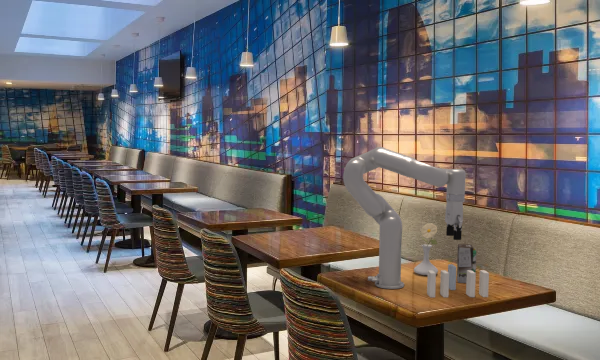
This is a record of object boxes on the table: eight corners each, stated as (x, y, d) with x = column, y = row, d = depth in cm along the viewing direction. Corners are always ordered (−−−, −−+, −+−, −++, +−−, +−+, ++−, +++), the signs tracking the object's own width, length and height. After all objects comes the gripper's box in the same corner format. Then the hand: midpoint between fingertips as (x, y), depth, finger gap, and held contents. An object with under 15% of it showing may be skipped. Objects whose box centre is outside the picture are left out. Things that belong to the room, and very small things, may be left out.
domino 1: (430, 297, 241) (431, 273, 240) (427, 294, 246) (427, 270, 245) (435, 297, 241) (435, 273, 241) (431, 294, 246) (432, 270, 246)
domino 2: (443, 297, 242) (444, 273, 241) (440, 293, 247) (440, 270, 246) (448, 297, 242) (449, 273, 241) (444, 293, 247) (445, 270, 246)
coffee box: (472, 283, 264) (473, 248, 262) (457, 282, 265) (458, 247, 264) (470, 278, 273) (472, 244, 271) (456, 277, 274) (457, 243, 273)
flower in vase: (408, 272, 284) (410, 220, 282) (428, 270, 288) (429, 219, 286) (425, 278, 272) (427, 224, 270) (445, 276, 277) (447, 223, 275)
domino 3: (451, 290, 253) (451, 267, 252) (447, 286, 258) (448, 264, 257) (455, 290, 253) (456, 266, 252) (451, 286, 258) (452, 264, 257)
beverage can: (472, 276, 278) (472, 251, 277) (455, 273, 282) (456, 248, 281) (478, 273, 284) (479, 248, 283) (462, 270, 289) (462, 246, 288)
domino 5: (483, 297, 242) (484, 273, 242) (478, 293, 247) (479, 270, 247) (488, 297, 243) (488, 273, 242) (483, 293, 248) (484, 270, 247)
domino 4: (470, 297, 242) (470, 273, 241) (466, 293, 247) (466, 270, 246) (474, 297, 242) (475, 273, 241) (470, 293, 247) (471, 270, 246)
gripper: (440, 195, 261) (439, 234, 262) (453, 200, 244) (451, 241, 245) (457, 195, 261) (455, 234, 263) (471, 200, 244) (469, 241, 245)
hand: (453, 237), depth 254 cm, fingers open, 9 cm apart
